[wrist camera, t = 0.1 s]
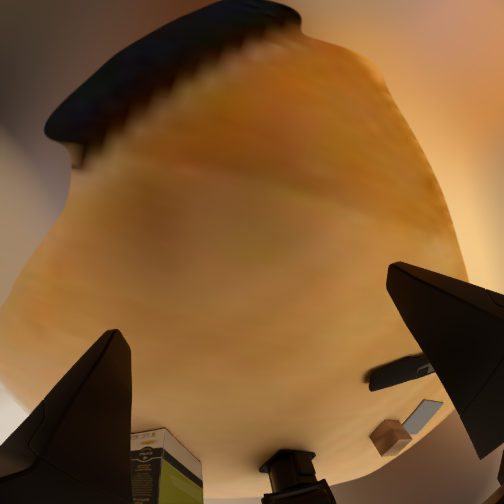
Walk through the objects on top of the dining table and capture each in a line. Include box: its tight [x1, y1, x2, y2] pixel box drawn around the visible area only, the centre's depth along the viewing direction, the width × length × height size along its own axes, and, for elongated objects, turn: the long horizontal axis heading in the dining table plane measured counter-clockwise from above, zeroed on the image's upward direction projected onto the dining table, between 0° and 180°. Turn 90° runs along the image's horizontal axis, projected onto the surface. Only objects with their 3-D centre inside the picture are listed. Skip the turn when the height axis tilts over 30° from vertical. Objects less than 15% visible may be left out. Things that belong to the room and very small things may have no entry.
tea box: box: [131, 428, 203, 504], centre depth 21 cm, size 15×10×15 cm, turn 111°
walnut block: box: [369, 420, 412, 457], centre depth 30 cm, size 4×4×5 cm
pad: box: [402, 399, 443, 434], centre depth 33 cm, size 8×8×1 cm
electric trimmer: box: [369, 355, 435, 392], centre depth 28 cm, size 4×16×3 cm, turn 90°
